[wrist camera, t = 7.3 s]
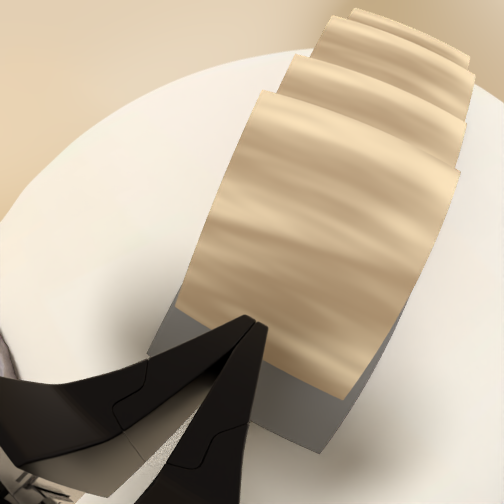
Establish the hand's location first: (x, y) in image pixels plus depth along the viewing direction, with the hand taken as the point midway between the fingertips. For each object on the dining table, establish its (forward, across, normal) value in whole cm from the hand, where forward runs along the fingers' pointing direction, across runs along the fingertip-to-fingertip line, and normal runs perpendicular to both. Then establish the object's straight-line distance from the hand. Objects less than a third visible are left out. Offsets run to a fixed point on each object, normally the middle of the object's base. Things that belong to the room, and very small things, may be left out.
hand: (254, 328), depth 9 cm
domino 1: (+3, 0, +6) cm, 6 cm away
